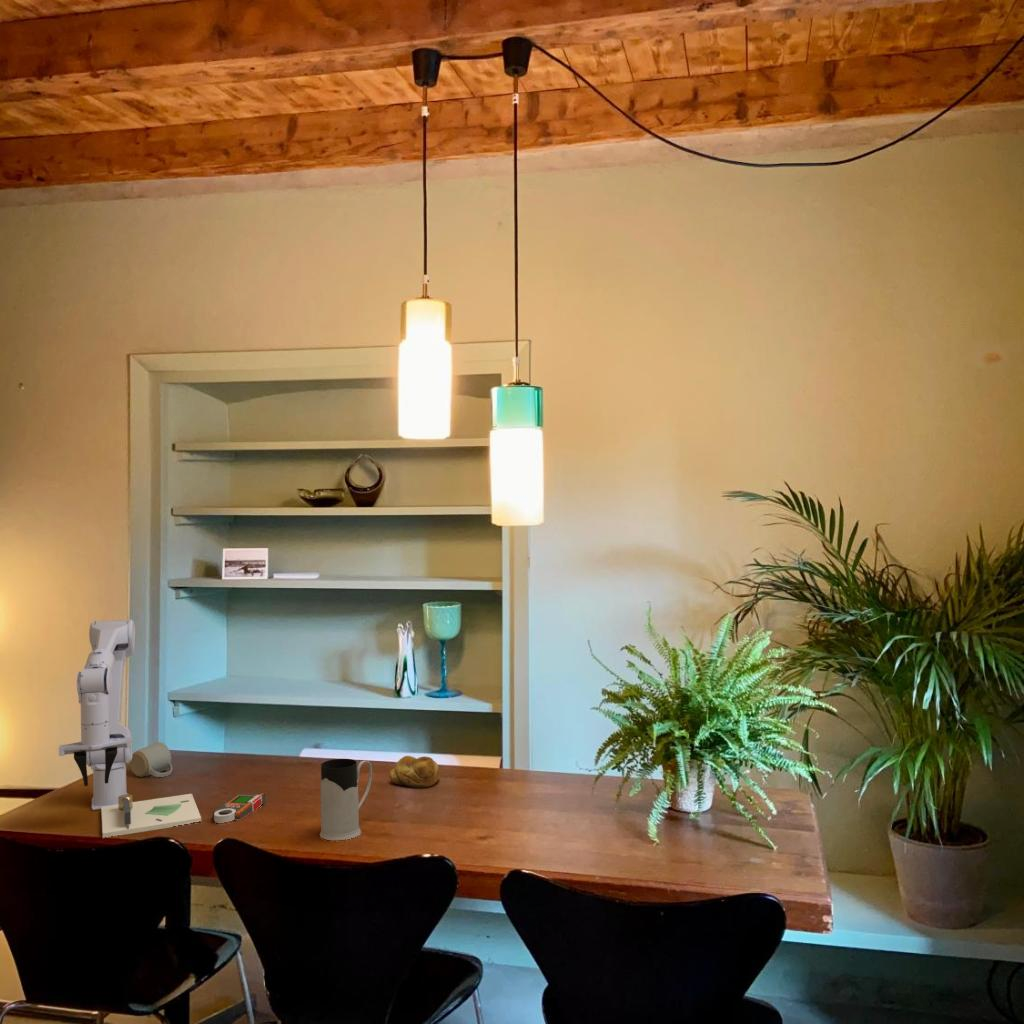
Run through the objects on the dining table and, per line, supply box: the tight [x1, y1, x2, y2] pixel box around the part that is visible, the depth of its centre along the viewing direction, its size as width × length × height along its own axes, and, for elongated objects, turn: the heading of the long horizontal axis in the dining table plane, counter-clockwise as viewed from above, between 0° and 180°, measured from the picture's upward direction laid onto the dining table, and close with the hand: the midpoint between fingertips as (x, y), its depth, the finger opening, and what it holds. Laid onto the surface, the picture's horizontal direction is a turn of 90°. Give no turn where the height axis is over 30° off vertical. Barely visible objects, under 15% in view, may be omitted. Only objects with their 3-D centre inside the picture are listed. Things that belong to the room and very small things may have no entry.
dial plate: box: [100, 793, 202, 839], centre depth 204 cm, size 20×20×1 cm
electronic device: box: [212, 792, 266, 823], centre depth 205 cm, size 7×3×15 cm
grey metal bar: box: [118, 793, 134, 825], centre depth 200 cm, size 14×3×3 cm, turn 25°
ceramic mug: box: [129, 741, 173, 778], centre depth 238 cm, size 11×8×8 cm
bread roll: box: [389, 755, 440, 789], centre depth 225 cm, size 13×10×8 cm
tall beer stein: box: [319, 758, 373, 841], centre depth 192 cm, size 9×14×15 cm, turn 146°
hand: (96, 783), depth 198 cm, fingers open, 3 cm apart
